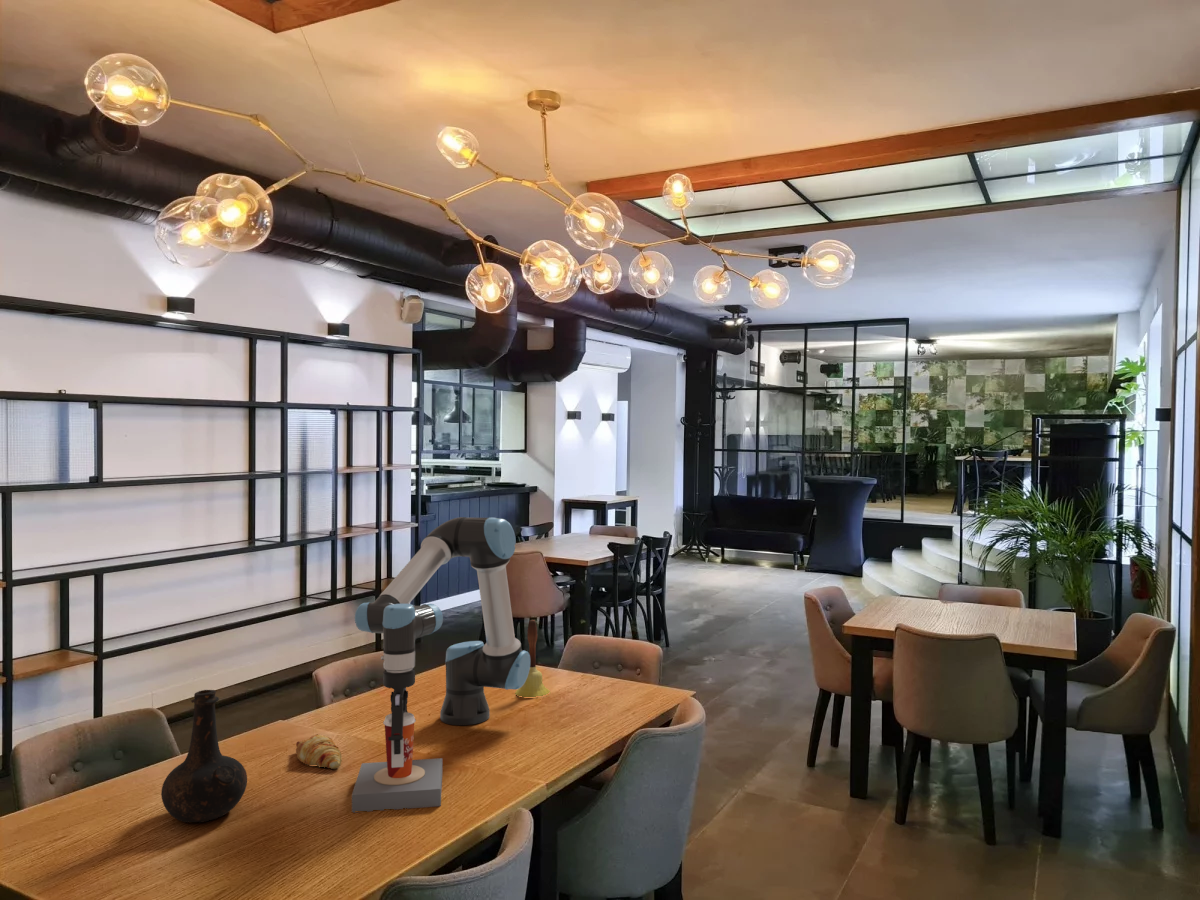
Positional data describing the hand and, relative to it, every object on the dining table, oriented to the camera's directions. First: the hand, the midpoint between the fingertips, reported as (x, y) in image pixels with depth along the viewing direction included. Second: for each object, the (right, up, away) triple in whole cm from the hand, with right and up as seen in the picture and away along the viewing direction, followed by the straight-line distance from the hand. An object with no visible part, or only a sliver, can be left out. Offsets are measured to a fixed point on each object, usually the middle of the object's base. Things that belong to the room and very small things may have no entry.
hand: (399, 756), depth 203 cm
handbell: (+26, -9, +83) cm, 88 cm away
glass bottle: (-42, -9, -12) cm, 44 cm away
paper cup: (0, -4, 0) cm, 4 cm away
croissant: (-27, -9, +21) cm, 35 cm away
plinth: (0, -9, 0) cm, 9 cm away
